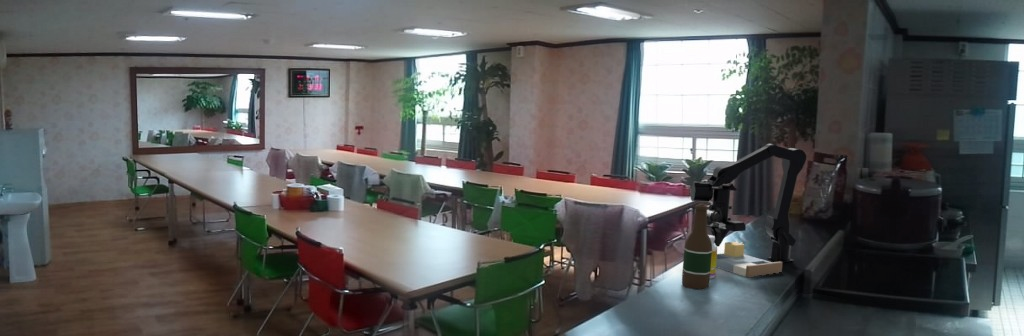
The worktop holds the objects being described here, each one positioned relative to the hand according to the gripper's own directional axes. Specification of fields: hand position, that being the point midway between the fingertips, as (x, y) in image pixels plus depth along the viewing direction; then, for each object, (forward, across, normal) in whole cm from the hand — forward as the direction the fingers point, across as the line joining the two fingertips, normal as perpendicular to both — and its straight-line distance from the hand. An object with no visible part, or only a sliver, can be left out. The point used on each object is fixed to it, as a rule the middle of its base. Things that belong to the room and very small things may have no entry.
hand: (717, 246), depth 232 cm
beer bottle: (+4, +24, -36) cm, 43 cm away
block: (+1, +8, 0) cm, 8 cm away
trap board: (+4, +14, -4) cm, 14 cm away
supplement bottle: (+4, +18, -24) cm, 30 cm away
